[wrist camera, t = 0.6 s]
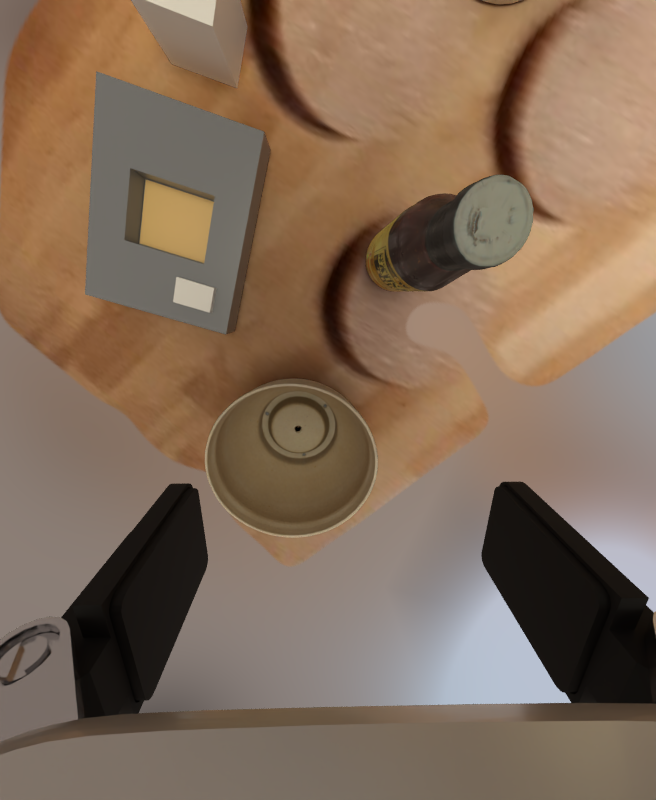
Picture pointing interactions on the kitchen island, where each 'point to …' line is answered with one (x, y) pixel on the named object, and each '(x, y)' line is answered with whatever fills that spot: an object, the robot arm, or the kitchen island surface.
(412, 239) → the sauce bottle
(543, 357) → the kitchen island surface
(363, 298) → the kitchen island surface
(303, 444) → the planter bowl
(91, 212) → the socket
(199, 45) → the plug
